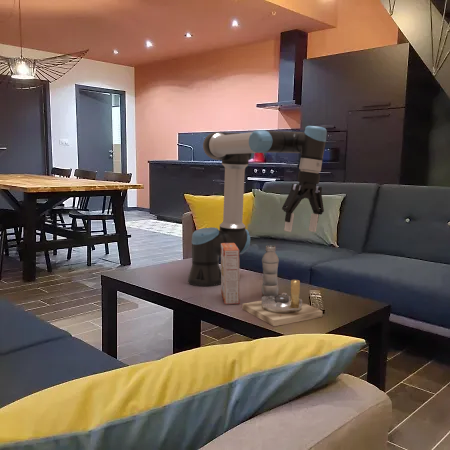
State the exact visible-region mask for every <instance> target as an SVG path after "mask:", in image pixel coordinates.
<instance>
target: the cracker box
mask: <svg viewBox="0 0 450 450" xmlns="http://www.w3.org/2000/svg"><path fill="white" fill-rule="evenodd" d="M220 270H221V284H220V285H221V286H220V288H221V290H220V291H221V296H222V300H223V302H224V305H239V304H240V254H239V249H238V247H237V246H236V244H235V243H221V257H220Z"/></svg>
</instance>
